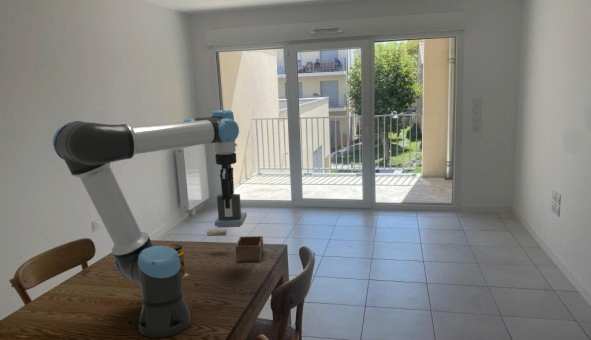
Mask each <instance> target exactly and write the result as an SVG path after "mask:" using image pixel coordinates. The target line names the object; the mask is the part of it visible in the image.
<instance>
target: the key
mask: <svg viewBox="0 0 591 340" xmlns="http://www.w3.org/2000/svg"><path fill="white" fill-rule="evenodd" d="M227 235H228V234H227V229H207V231H206V236H207V237H220V236H221V237H224V236H225V237H226V236H227Z"/></svg>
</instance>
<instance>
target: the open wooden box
mask: <svg viewBox="0 0 591 340" xmlns="http://www.w3.org/2000/svg"><path fill="white" fill-rule="evenodd" d="M263 251H264V237H263V236H262V235H261V236H259V235H257V236H239V238H238V240H237V242H236V244H235V260H236V262H235V263H238V264H239V263H261V262H262V259H263V255H264V252H263Z"/></svg>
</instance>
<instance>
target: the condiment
mask: <svg viewBox="0 0 591 340" xmlns="http://www.w3.org/2000/svg"><path fill="white" fill-rule="evenodd" d="M168 247H171V248H173V249H175V250H176V251H177V252H178V255H179V259H180V263H181V266H180V269H181V279H183V278H186V277H189V276H190V274H188V273H186V269H185V255H184V251H183V246H182V244H178V243H177V244H176V243H175V244H171V245H169V246H168Z"/></svg>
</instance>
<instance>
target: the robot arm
mask: <svg viewBox="0 0 591 340" xmlns="http://www.w3.org/2000/svg"><path fill="white" fill-rule="evenodd" d="M239 134H240V128H239V124H238V122H236V121H235V118H234V112H233V111H232V110H230V109H224V110H223V109H220V110H213V111H212V113H211V116H208V117H207V116H205V117H192V118H186V119H184V120H183V121H181V122H172V123H170V122H168V123H161V124H152V125H151V124H150V125H140V126H132V127H131V126H130V125H129V124H126V123H123V124H106V123H99V122H92V121H91V122H86V121H83V120H82V121H81V120H75V121H71V122H70V121H69V122H67V123H64V124H63V125H60V126H59V127H58V128H57V130H56V131H55V133H54V135H53V138H52V146H53V150H54V152H55V153H56V155H57V156H58V157H59V158H61V160H63V161H64V163H65V164H66V166H67V169H68V170H69V172H70V174H71V176H74V177H76V178H79V179H80V180H81V182H82V184H83V187H84V188H85V190H86V192H87V194H88V196H89V199H90V200H91V202H92V204H93V206H94V208H95V209H96V212H97V214H98V215H99V217H100V220H101V222H102V223H103V226H104V227H105V229H106V231H107V233H108V235H109V237H110V239H111V241H112V243H113V244H114V245H113V247H112V249H111V252H112V254H113V257H114V259H113V260H114V265H115V267H116V269H117V271H118V272H119V274H121V275H122V277H124V278H127V279H129V280H131V281H132V282H133V283H135V284H137V285H138V286H140V288H141V299H142V307H141V310H140V315H139V320H138V327H139V332H140V334H141V335H143V336H145V337H147V338H154V339H156V338H158V339H159V338H167V337H170V336H174V335H176V334H179V333H181V332H183V331H184V330H185V329H186V328H188V327H189V326H190V324H191V319H192V318H191V312H190V310H189V308H188V305H187V302H186V301H185V299H184V295H183V283H182V278H181V269H180V266H181V263H180V259H179V255H178V252H177V251H176V250H175V249H173V248H171V247H169V246H167V245H165V246H163V245H155V246H154V244H153V242H152V240H151V238H150V235H149V234H148V233H147V232H143V231H141V229H140V227H139V225H138V223H137V220H136V218H135V217H134V214H133V212H132V210H131V208H130V205H129V204H128V202H127V199H126V198H125V194H124V193H123V192H122V189H121V186H120V185H119V183H118V181H117V179H116V177H115V175H114V173H113V171H112V168H111V163H114V162H118V161H124V160H131V159H133V157H134V156H135V155H139V154H146V153H152V152H153V153H154V152H158V151H167V150H172V149H180V148H186V147H192V146H200V145H207V144H213V145H214V153H215V155H214V156H215V157H214V158H215V163H216V165H218V166H221V169H220V170H219V171H220V173H219V177H220V178H219V179H220V185H221V186H220V187H221V195H222V200H224V209H225V217H232V216H233V214H232V199H231V194H235V189H234V188H235V185H234V167H232V165H234V164H236V163H237V153H236V150H237V149H236V147H237V146H238V144H237V143H236V140H237V138H238V137H239Z"/></svg>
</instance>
